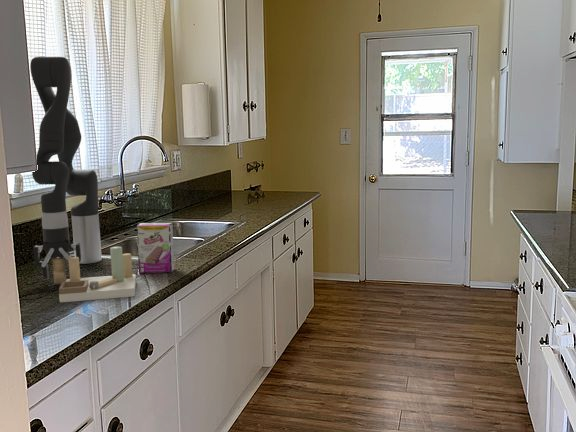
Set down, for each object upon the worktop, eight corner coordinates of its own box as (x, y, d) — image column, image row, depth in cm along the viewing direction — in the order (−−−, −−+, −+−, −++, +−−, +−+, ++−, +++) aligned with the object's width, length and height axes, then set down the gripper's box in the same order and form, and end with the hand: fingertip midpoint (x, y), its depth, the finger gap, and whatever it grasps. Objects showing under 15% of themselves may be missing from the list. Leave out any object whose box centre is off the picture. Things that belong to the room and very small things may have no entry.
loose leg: (55, 281, 185) (52, 257, 183) (67, 280, 186) (65, 256, 184) (53, 284, 181) (51, 260, 180) (65, 283, 182) (63, 259, 181)
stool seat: (67, 286, 179) (64, 256, 178) (135, 281, 184) (134, 252, 182) (59, 302, 164) (56, 270, 162) (134, 296, 169) (132, 265, 167)
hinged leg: (95, 289, 167) (92, 255, 165) (87, 287, 168) (84, 254, 167) (126, 279, 177) (124, 247, 175) (118, 277, 178) (116, 246, 177)
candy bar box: (138, 274, 192) (135, 225, 190) (141, 270, 197) (139, 222, 195) (172, 273, 193) (170, 224, 190) (174, 269, 198) (172, 222, 195)
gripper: (81, 222, 185) (84, 272, 188) (33, 224, 182) (37, 275, 185) (78, 226, 178) (82, 278, 181) (28, 229, 175) (33, 282, 178)
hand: (59, 276), depth 183 cm, fingers open, 7 cm apart
